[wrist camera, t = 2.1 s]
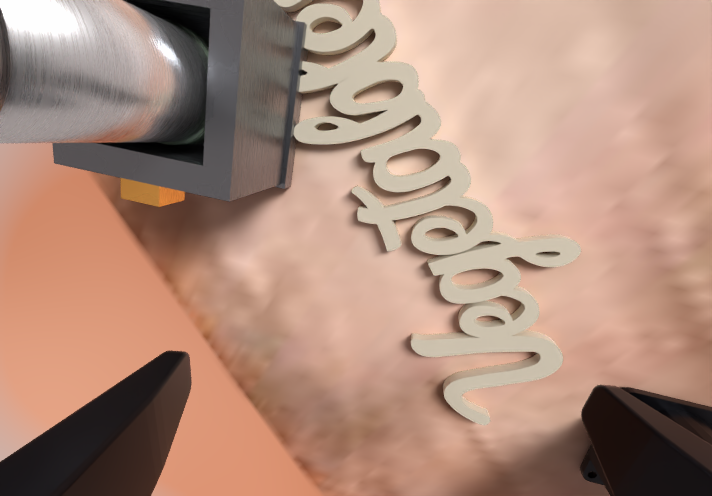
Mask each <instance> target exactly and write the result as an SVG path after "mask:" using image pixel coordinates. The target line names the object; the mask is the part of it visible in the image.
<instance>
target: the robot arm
mask: <svg viewBox="0 0 712 496" xmlns="http://www.w3.org/2000/svg"><path fill="white" fill-rule="evenodd" d="M190 389H191V369H190V357H189V354H188V353H186V352H182V351H166V352H164V353H162V354H161V355H159V356H158V357H156V358H155V359H153V360H152V361H151V362H149V363H147V364H146V365H144V366H143V367H141V368H140V369H139V370H137V371H136V372H134V373H132V374H131V375H129V376H128V377H126V378H125V379H123V380H122V381H120V382H119V383H117V384H116V385H115V386H113V387H112V388H110V389H108V390H107V391H106V392H104V393H103V394H101V395H100V396H98V397H97V398H95V399H94V400H92V401H91V402H89V403H88V404H86V405H85V406H83V407H82V408H80V409H79V410H77V411H76V412H74V413H73V414H71V415H70V416H68V417H67V418H66V419H64V420H62V421H61V422H59V423H58V424H56V425H55V426H53V427H52V428H50V429H49V430H47V431H46V432H44V433H43V434H41V435H40V436H38V437H37V438H35V439H34V440H32V441H31V442H29V443H28V444H26V445H25V446H23V447H22V448H20V449H19V450H17V451H16V452H14V453H13V454H11V455H10V456H8V457H7V458H5V459H4V460H2V461H1V462H0V496H151V494H152V492H153V490H154V488H155V486H156V484H157V481H158V479H159V477H160V475H161V472H162V470H163V467H164V465H165V462H166V459H167V457H168V453H169V451H170V448H171V445H172V442H173V439H174V436H175V434H176V431H177V428H178V425H179V422H180V419H181V416H182V414H183V411H184V408H185V405H186V402H187V399H188V396H189V393H190ZM581 416H582V421H583V424H584V426H585V428H586V431H587V433H588V436H589V438H590V440H591V443H592V444H591V446H590V448H589V450H588V452H587V455H586V457H585V459H584V461H583V463H582V465H581V467H580V471H581V473H582V475H583V477H584V478H585V479H586V480H588V481H590V482H594V483H598V484H602V485H605V487H606V489H607V490H608V492H609V494H610V496H712V407H709V406H705V405H700V404H696V403H692V402H688V401H684V400H680V399H676V398H671V397H667V396H663V395H659V394H655V393H651V392H647V391H643V390H638V389H634V388H628V387H627V388H623V389H621V388H619V387H616V386H610V385H597V386H596V387H595V388H594V389H593V391H592V392H591V394H590V396H589V398H588V400H587V401H586V403H585V405H584V407H583V409H582V413H581Z"/></svg>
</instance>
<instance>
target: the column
mask: <svg viewBox="0 0 712 496" xmlns="http://www.w3.org/2000/svg"><path fill="white" fill-rule="evenodd" d="M208 53H209V40H208V39H207V38H205V37H204V36H202V35H200V34H198V33H196V32H194V31H192V30H190V29H188V28H186V27H184V26H182V25H180V24H178V23H175V22H173V21H170V20H166V19H161V18H159V17H157V16H155V15H153V14H151V13H149V12H146V11H144V10H142V9H140V8H138V7H136V6H134V5H132V4H130V3H128V2H126V1H124V0H0V143H103V142H159V143H162V144H169V145H177V144H200V143H204V137H205V116H206V95H207V74H208Z"/></svg>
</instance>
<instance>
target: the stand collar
mask: <svg viewBox="0 0 712 496" xmlns="http://www.w3.org/2000/svg"><path fill="white" fill-rule="evenodd" d="M124 1H126V2H128V3H130V4H132V5H134V6H136V7H138V8H140V9H142V10H144V11H146V12H149V13H151V14H153V15H155V16H157V17H159V18H161V19H166V20H170V21H173V22H175V23H178V24H180V25H182V26H184V27H186V28H188V29H190V30H192V31H194V32H196V33H198V34H200V35H202V36H204V37H205V38H207V39H208V40H209V53H208V74H207V95H206V116H205V137H204V143H200V144H177V145H169V144H162V143H159V142H103V143H53V155H54V163H55V164H60V165H65V166H69V167H74V168H78V169H83V170H87V171H92V172H97V173H101V174H106V175H110V176H115V177H119V178H120V179H121V198H122V199H126V200H131V201H135V202H140V203H144V204H149V205H153V206H157V207H161V206H164V205H168V204H172V203H176V202H180V201H183V200H184V198H185V192H188V193H193V194H197V195H202V196H206V197H211V198H215V199H220V200H225V201H229V202H230V201H233V200H236V199H239V198H242V197H245V196H248V195H251V194H254V193H257V192H260V191H263V190H266V189H268V188H271V187H278V188H283V189H285V188H288V187H291V180H292V172H293V165H294V157H295V149H296V141H297V139H296V138H295V136H294V128H295V126H296V125H297V124H298V123H299V117H300V109H301V101H302V93H300V92H299V86H300V78H301V76H302V75H305V71H303V70H302V61H304V62H306V61H307V53H308V50H307V49H305V48H304V45H305V37H306V29H307V25H306V24H305V22H299V21H293V19H292V18H291V17H290V16H289V15H288V14H287V13H286V12H285V11H284V10H283V9H282V8H281V7H280V6H279V5H278V4H277V3H276V2H275V1H274V0H124Z"/></svg>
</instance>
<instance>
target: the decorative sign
mask: <svg viewBox="0 0 712 496" xmlns="http://www.w3.org/2000/svg"><path fill="white" fill-rule="evenodd" d="M274 1H275V2H276V3H277V4H278V5H279V6H280V7H281V8H282V9H283V10H284V11H287V12H294V11H297V10H299V9H301V8H303V7H304V6H306V5H307V4H309V3H310V2H312V1H313V0H274ZM296 21H299V22H305V24H306V25H307V29H306V37H305V45H304V48H305V49H307V50H308V51H310V52H312V53H316V54H321V55H334V54H340V53H343V52H346V51H349V50H351V49H353V48H354V47H356V46H358V45H359V44H361V43H362V42H363V41H364V40H366V39H367V38H368V37H369V36H370V35H371V34H372V33H373V32H375V34H376V36H375V39H374V41H373V42H372V43H371V44H370V45H369V46H368V47H367V48H366V49H364V50H363V51H361V52H360V53H358V54H357V55H355V56H353V57H351V58H350V59H348V60H346V61H344V62H342V63H339V64H337V65H335V66H333V67H331V68H326V67H324V66H322V65H319V64H316V63H311V62H304V61H302V70H303V71H305V72H307V74H306V75H302V76H301V78H300V86H299V92H300V93H302V94H304V93H312V92H318V91H322V90H326V89H330V88H333V87H335V88H334V89H333V91H332V92H331V95H330V103H331V104H332V106H333V107H334V108H335V109H336V110H338V111H340V112H342V113H344V114H347V115H352V116H359V115H366V114H372V113H378V112H384V113H382V114H380V115H378V116H376V117H374V118H372V119H370V120H368V121H365V122H363V123H358V122H355V121H352V120H349V119H346V118H341V117H331V116H328V117H316V118H311V119H307V120H304V121H301V122H299V123H298V124H297V125H296V126H295V128H294V136H295V138H296V139H297V140H298V141H300V142H303V143H308V144H340V143H347V142H352V141H357V140H361V139H365V138H368V137H371V136H374V135H377V134H380V133H383V132H385V131H388V130H390V129H393V128H395V127H397V126H399V125H401V124H403V123H405V122H407V121H408V120H410V119H412V118H414V117H415V116H416V115H418V116H419V117H420V118H421V123H420V124H419V125H418V126H417V127H416V128H414V129H413V130H412V131H410V132H408V133H407V134H405V135H403V136H401V137H399V138H397V139H395V140H392V141H389V142H386V143H383V144H380V145H376V146H373V147H370V148H367V149H364V150H361V155H362V158H363V160H364V161H366V162H369V163H371V162H375V165H374V169H373V177H374V180H375V182H376V184H377V185H378V186H379V187H381V188H382V189H384V190H387V191H391V192H407V191H412V190H416V189H419V188H422V187H425V186H428V185H430V184H433V183H435V182H437V181H439V180H441V179H443V178H445V177H446V176H449V177H450V181H449V182H448V183H447V184H446V185H445V186H443V187H442V188H440V189H439V190H437V191H435V192H433V193H430V194H428V195H425V196H422V197H418V198H414V199H410V200H407V201H403V202H399V203H396V204H391V205H386V206H384V205H383V203H382V202H381V201H380V200H379V199H378V198H377V197H376V196H375V195H374V194H372V193H371V192H370V191H368V190H366V189H365V188H363V187H360V186H358V185H357V186H355V187H354V188H353V189H352V193H353V194H354V195H356V196H357V197H358V198H359V199H360V200H361V201H362V202H363V203H364V204H365V205H366V206H359V207H358V211H357V217H358V221H361V222H365V223H370V224H377V225H378V227H379V230H380V232H381V235H382V237H383V240H384V243H385V246H386V249H387V251H393V250H395V249H397V248H399V247H400V246H401V239H400V235H399V232H398V230H397V227H396V225H395V223H394V221H393V220H399V219H404V218H409V217H413V216H417V215H421V214H424V213H427V212H430V211H433V210H436V209H439V208H441V207H443V206H449V205H451V206H459V207H463V208H466V209H469V210H471V211H473V212H474V214H475V220H474V222H473V224H472V225H471V226H470V227H469V228H468V229H467V230H464V228H463V226H462V224H461V223H460V222H459V221H457V220H456V219H453V218H451V217H446V216H439V215H431V216H426V217H423V218H421V219H419V220H418V221H417V222H416V223H415V225H414V227H413V229H412V233H411V240H412V243H413V245H414V246H415V247H416V248H417V249H418V250H420V251H423V252H425V253H429V254H435V255H441V256H438V257H435V258H432V259H429V260H427V261H428V265H429V267H430V269H431V271H432V273H433V275H434V276H436V275H440V278H439V288H440V292H441V294H442V296H443V297H444V299H446V300H447V301H449V302H451V303H456V304H465V305H464V306H463V307H462V308H461V309H460V311H459V314H458V320H459V324H460V327H461V329H462V330H463V331H464V332H457V333H439V334H417V333H412V334H411V347H412V349H413V350H414V351H415V352H416V353H417V354H419V355H421V356H425V357H443V356H453V355H463V354H474V353H488V352H536V354H535V355H534V356H533V357H531V358H529V359H526V360H522V361H518V362H514V363H509V364H502V365H495V366H488V367H482V368H476V369H471V370H465V371H461V372H457V373H454V374H452V375H451V376H449V377H448V378H447V379H446V380H445V381H444V384H443V392H444V397H445V400H446V401H447V402H448V404H449V405H450V406H451V407H452V408H453V409H454V410H455V411H457V412H458V413H459V414H461V415H462V416H464V417H465V418H467V419H469V420H471V421H473V422H476V423H478V424H481V425H488V424H489V423H490V417H489V413H488V410H487V409H486V408H484V407H481V406H479V405H477V404H474V403H472V402H470V401H468V400H467V399H465V398H464V397H463V396H462V394H464V393H465V392H468V391H470V390H474V389H480V388H488V387H495V386H502V385H509V384H515V383H522V382H528V381H534V380H538V379H542V378H545V377H547V376H549V375H551V374H553V373H554V372H556V371H557V370H558V369H559V368H560V366H561V365H562V362H563V355H562V353H561V350H560V349H559V348H558V346H557V345H556V343H555V342H554V341H553V340H552V339H551V338H550V337H549V336H547V335H545V334H542V333H539V332H535V331H528V330H525V329H527V328H529V327H530V326H532V325H533V324H534V323H535V322H536V321H537V319H538V316H539V306H538V303H537V301H536V300H535V298H534V297H533V296H532V295H531V293H530V292H528V291H527V290H526V289H524V288H522V287H519V286H517V285H518V284H519V282H520V280H521V274H520V272H519V270H518V269H517V267H516V266H515V265H514V264H513V262H511V261H510V260H509V259H507V258H509V257H517V256H519V257H521V258H522V259H524V260H526V261H527V262H529V263H532V264H535V265H538V266H542V267H559V266H564V265H567V264H569V263H571V262H572V261H574V260H575V259H576V258H577V257H578V256H579V254H580V252H581V248H580V246H579V244H578V243H577V242H575V241H574V240H572V239H570V238H569V237H567V236H564V235H560V234H550V235H540V236H532V237H523V238H516V239H515V238H514V237H512V236H510V235H508V234H506V233H502V232H497V231H492V228H493V218H492V214H491V212H490V210H489V209H488V208H487V207H486V206H485V205H484V204H483V203H482V202H480V201H479V200H477V199H474V198H471V197H466V196H462V195H463V194H464V193H465V192H466V191H467V190H468V188H469V187H470V184H471V176H470V173H469V171H468V169H467V168H466V166H464V165H463V164H462V163H461V162H460V160H461V155H460V151H459V149H458V148H457V147H456V146H455V145H454V144H453V143H451V142H448V141H444V140H435V139H430V138H431V137H433V136H434V135H435V134H436V133H437V132H438V130H439V129H440V126H441V119H440V116H439V114H438V113H437V111H436V110H435V109H434V108H433V107H432V106H431V105H430V104H428V103H427V102H426V101H425V96H424V94H423V92H422V91H421V90H418V82H419V81H418V74H417V71H416V70H415V68H414V67H413V66H411V65H409V64H407V63H403V62H382V61H384V60H385V59H386V58H387V57H389V56H390V55H391V54H392V52H393V51H394V50H395V48H396V44H397V36H396V31H395V28H394V26H393V24H392V22H391V21H390V20H389V19H388V18H387V17H386V16H384V15H382V13H381V6H380V2H379V0H363V6H362V9H361V11H360V13H359V14H358V16H357V17H356V19H355V20H354V21H352V19H351V17H350V15H349V14H348V12H347V11H346V10H345V9H343V8H342V7H340V6H337V5H333V4H313V5H310V6H307V7H306V8H304V9H303V10H302V11H301V12H300V13H299V15H298V16H297V19H296ZM327 21H332V22H336V23H339V24H340V25H342V26H341V28H339V29H337V30H334V31H331V32H328V33H322V34H319V33H314V32H313V29H314V28H315V27H316V26H317V25H319V24H320V23H323V22H327ZM384 82H398V83H401V84H402V85H403V90H402V92H401V93H400V94H399V95H398V96H396V97H394V98H392V99H389V100H385V101H379V102H373V103H365V104H360V103H356V102H355V100H354V98H355V96H356V95H357V94H359V93H360V92H362V91H364V90H366V89H368V88H370V87H373V86H375V85H377V84H380V83H384ZM323 123H332V124H335V125H337V126H338V128H337V129H334V130H328V131H321V130H318V126H319V125H321V124H323ZM414 149H430V150H433V151H436V152H437V153H438V154H439V159H438V160H437V162H436V163H435V164H433V165H432V166H431V167H429V168H427V169H425V170H423V171H420V172H417V173H413V174H408V175H394V174H392V173H391V172H390V171H389V170H388V168H387V161H388V159H389V158H390V157H392V156H394V155H397V154H400V153H403V152H407V151H410V150H414ZM434 228H447V229H450V230H452V231H454V232H456V234H455V235H452V236H448V237H443V238H432V237H428V236H426V235H425V233H426V232H427V231H429V230H431V229H434ZM483 241H496V242H492V243H487V244H482V245H478V246H476V245H477V244H479V243H480V242H483ZM548 251H553V252H550V253H541V254H540V252H548ZM482 268H486V269H494V270H497V271H500V273H499V274H498V275H497V276H496V277H494V278H492V279H490V280H488V281H485V282H482V283H478V284H473V285H461V284H457V283H454V282H453V281H452V280H451V279H452V277H453V276H454V275H456V274H458V273H461V272H464V271H468V270H473V269H482ZM501 295H502V296H507V297H511V298H514V299H516V300H519V301H520V302H521V305H520V307H519V308H518V309H517V310H516V311H515V312H514V313H513V314H511V315H510V313H509V312H508V310H507V309H506V307H504V306H503V305H501V304H499V303H496V302H491V301H486V300H490V299H493V298H496V297H499V296H501ZM486 315H490V316H496V317H498V318H500V319H499V320H493V321H478V320H475V319H477V318H478V317H481V316H486Z"/></svg>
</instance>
